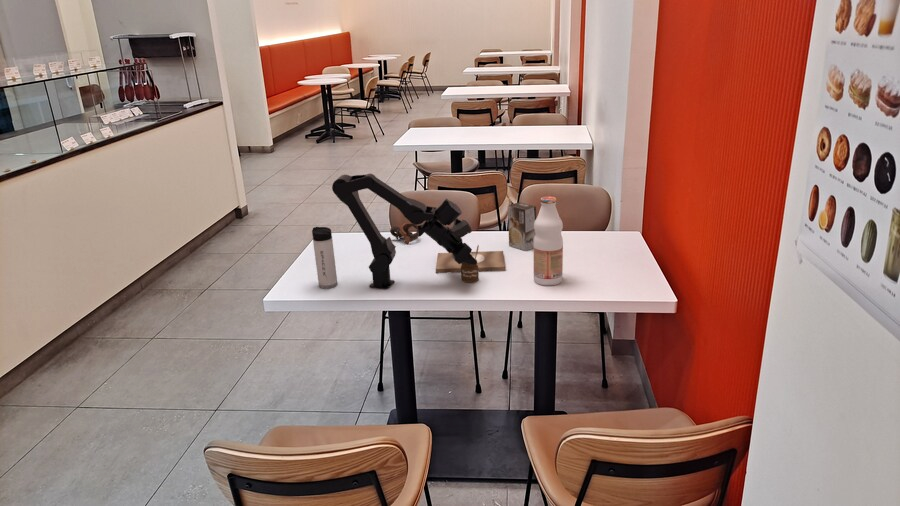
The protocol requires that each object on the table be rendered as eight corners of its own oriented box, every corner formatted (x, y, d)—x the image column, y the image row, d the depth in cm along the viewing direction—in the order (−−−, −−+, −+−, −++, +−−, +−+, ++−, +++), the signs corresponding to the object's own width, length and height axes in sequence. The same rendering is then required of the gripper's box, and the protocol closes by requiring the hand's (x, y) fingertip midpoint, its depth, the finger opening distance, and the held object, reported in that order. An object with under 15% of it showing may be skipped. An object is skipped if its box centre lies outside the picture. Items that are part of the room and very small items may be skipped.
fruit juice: (531, 285, 206) (531, 201, 196) (535, 274, 214) (535, 194, 205) (560, 287, 203) (562, 202, 194) (563, 276, 212) (565, 194, 202)
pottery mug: (418, 236, 260) (422, 222, 254) (416, 253, 253) (420, 239, 247) (389, 231, 258) (392, 216, 252) (386, 247, 252) (389, 233, 246)
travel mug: (328, 279, 218) (321, 224, 212) (341, 283, 214) (335, 227, 207) (314, 285, 214) (306, 229, 207) (327, 290, 210) (320, 232, 203)
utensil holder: (460, 277, 215) (458, 243, 211) (478, 275, 216) (477, 242, 211) (461, 283, 210) (460, 249, 206) (480, 282, 210) (479, 248, 206)
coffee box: (537, 247, 240) (537, 206, 234) (525, 251, 236) (525, 209, 230) (519, 241, 246) (518, 201, 241) (507, 246, 242) (507, 205, 237)
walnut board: (503, 254, 234) (503, 249, 233) (505, 270, 218) (505, 265, 218) (438, 256, 235) (437, 251, 234) (435, 273, 220) (435, 267, 219)
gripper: (464, 222, 195) (498, 251, 202) (448, 206, 212) (480, 234, 219) (440, 249, 196) (476, 277, 202) (426, 232, 213) (459, 258, 219)
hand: (473, 260), depth 211 cm, fingers open, 5 cm apart
